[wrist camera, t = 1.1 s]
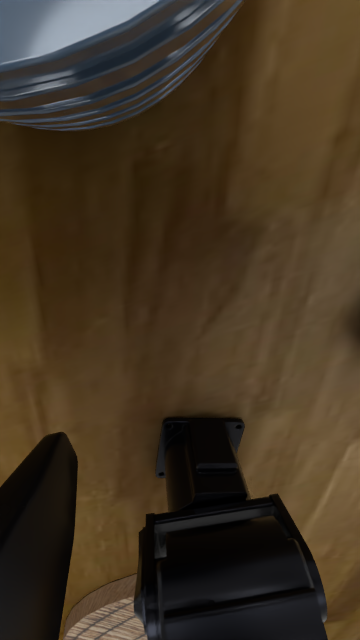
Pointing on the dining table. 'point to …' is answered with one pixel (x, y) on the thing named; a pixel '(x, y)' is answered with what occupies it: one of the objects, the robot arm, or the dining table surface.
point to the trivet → (106, 614)
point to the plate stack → (100, 57)
